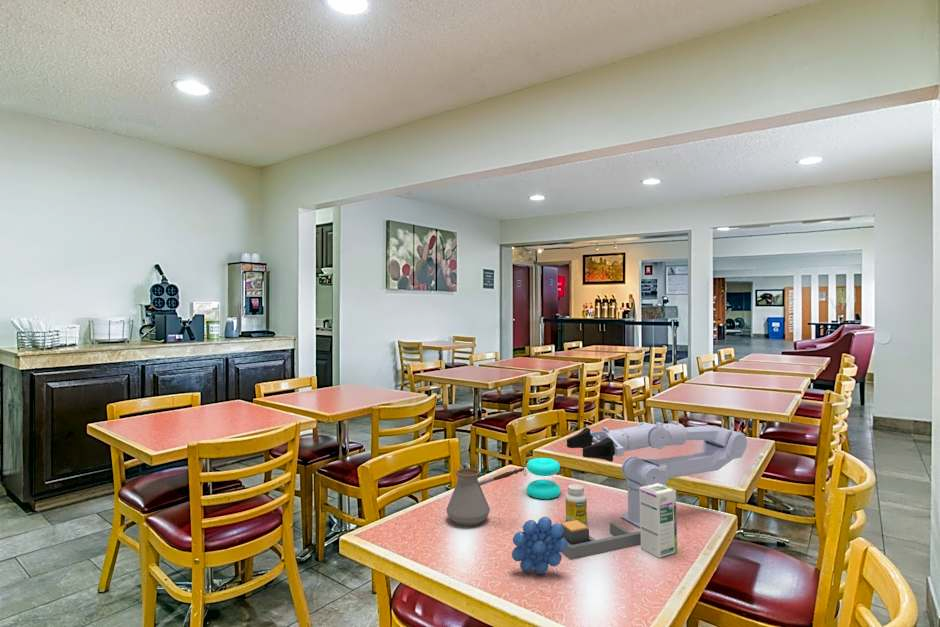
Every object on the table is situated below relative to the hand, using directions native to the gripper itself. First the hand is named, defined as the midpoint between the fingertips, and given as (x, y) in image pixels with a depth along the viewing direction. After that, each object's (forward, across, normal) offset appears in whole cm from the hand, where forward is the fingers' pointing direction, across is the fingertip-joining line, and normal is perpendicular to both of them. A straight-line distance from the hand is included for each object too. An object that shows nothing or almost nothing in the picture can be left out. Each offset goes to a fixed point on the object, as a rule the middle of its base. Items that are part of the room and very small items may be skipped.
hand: (575, 447), depth 130 cm
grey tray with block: (0, +9, +20) cm, 22 cm away
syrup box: (-11, +17, +21) cm, 29 cm away
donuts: (-3, -25, +23) cm, 34 cm away
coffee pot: (+20, -12, +21) cm, 31 cm away
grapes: (+19, +16, +19) cm, 31 cm away
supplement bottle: (-1, -3, +21) cm, 22 cm away
